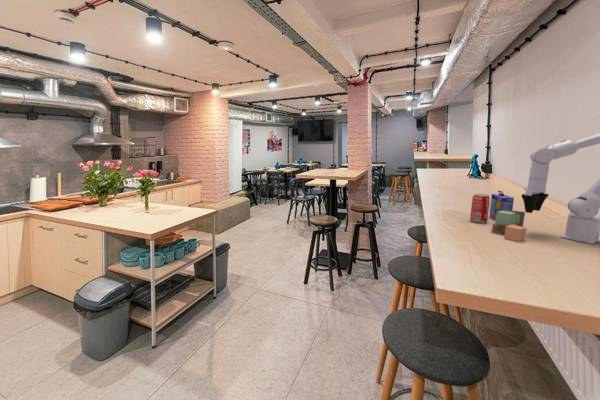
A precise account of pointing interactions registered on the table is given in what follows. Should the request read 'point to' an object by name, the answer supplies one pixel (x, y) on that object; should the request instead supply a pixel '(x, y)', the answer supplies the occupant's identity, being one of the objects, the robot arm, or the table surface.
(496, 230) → the walnut block
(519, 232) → the terracotta block
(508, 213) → the green block
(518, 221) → the board
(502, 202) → the ink cartridge box
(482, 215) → the soda can
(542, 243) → the table surface
